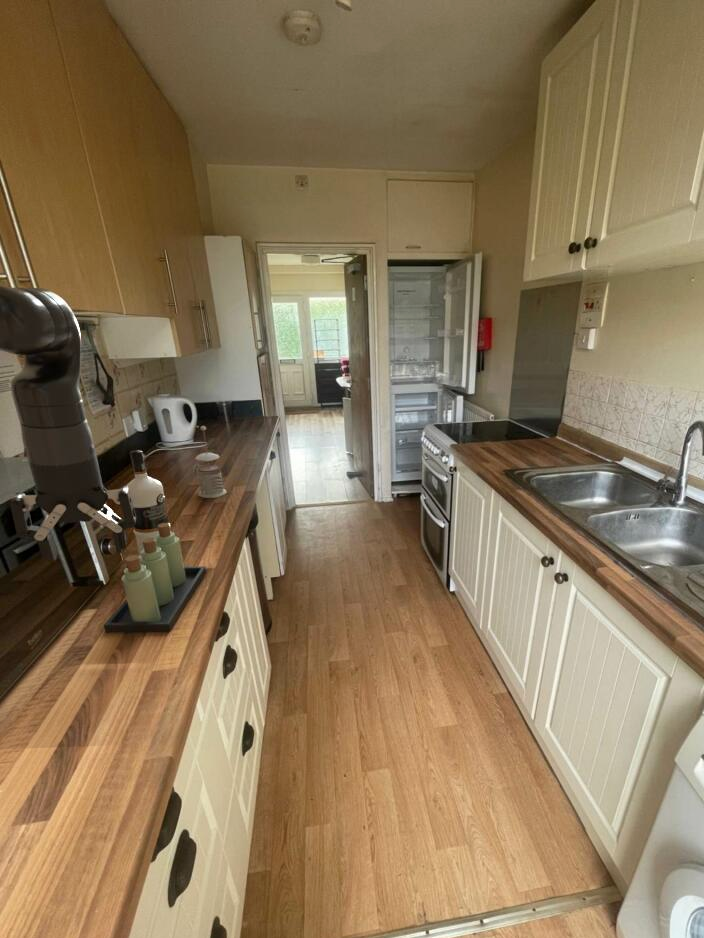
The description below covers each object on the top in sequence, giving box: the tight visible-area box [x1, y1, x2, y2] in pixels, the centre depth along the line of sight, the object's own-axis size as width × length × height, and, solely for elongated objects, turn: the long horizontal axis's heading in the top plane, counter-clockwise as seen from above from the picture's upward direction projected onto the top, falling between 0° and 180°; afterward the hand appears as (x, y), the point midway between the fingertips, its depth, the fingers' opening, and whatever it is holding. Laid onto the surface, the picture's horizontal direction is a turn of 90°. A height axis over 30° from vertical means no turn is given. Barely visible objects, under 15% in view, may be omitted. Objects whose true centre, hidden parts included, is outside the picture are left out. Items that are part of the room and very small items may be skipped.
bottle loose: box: [121, 554, 161, 622], centre depth 86 cm, size 5×5×15 cm
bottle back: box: [155, 522, 186, 587], centre depth 100 cm, size 5×5×15 cm
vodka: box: [125, 449, 172, 557], centre depth 106 cm, size 9×9×30 cm
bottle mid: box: [139, 538, 174, 606], centre depth 93 cm, size 5×5×15 cm
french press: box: [192, 425, 227, 499], centre depth 153 cm, size 10×12×25 cm
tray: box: [103, 565, 207, 634], centre depth 96 cm, size 13×23×2 cm, turn 3°
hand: (87, 554), depth 65 cm, fingers open, 8 cm apart
